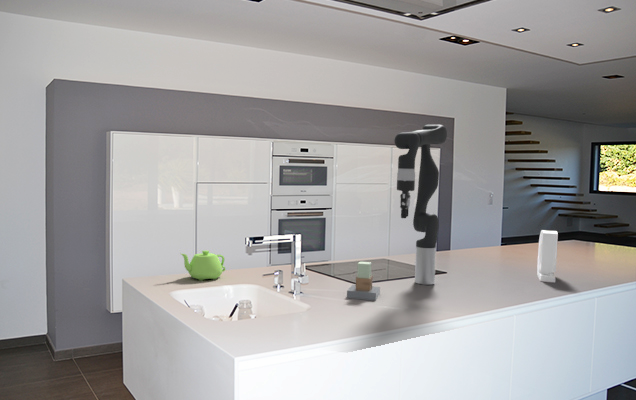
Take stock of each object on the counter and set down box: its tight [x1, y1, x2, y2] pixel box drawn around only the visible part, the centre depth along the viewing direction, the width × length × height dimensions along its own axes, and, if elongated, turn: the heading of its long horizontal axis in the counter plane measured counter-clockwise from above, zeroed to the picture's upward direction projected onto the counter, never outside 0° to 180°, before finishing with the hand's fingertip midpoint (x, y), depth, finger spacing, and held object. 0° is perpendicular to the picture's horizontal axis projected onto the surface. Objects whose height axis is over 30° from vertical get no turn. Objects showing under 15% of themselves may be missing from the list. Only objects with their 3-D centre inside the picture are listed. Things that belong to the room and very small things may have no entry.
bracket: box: [536, 229, 559, 283], centre depth 268 cm, size 7×21×25 cm, turn 162°
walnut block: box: [355, 275, 373, 291], centre depth 220 cm, size 6×6×5 cm
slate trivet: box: [346, 284, 381, 301], centre depth 221 cm, size 12×12×3 cm
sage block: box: [356, 261, 373, 279], centre depth 220 cm, size 5×5×6 cm
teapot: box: [180, 249, 226, 281], centre depth 247 cm, size 22×15×13 cm
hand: (404, 217), depth 225 cm, fingers open, 8 cm apart
